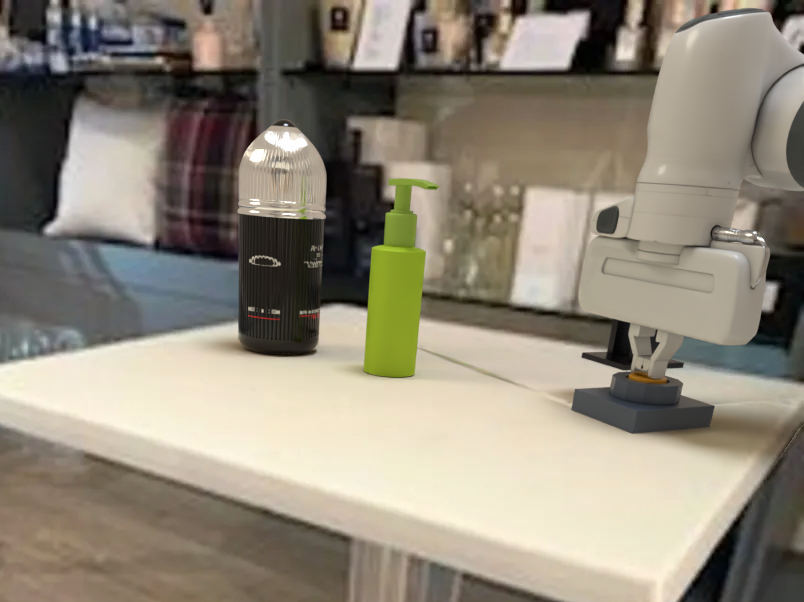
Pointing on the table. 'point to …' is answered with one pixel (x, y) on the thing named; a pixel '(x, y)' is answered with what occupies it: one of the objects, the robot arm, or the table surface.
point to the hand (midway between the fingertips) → (646, 376)
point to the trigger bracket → (623, 349)
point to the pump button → (646, 379)
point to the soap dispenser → (396, 289)
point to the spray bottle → (280, 242)
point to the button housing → (642, 405)
